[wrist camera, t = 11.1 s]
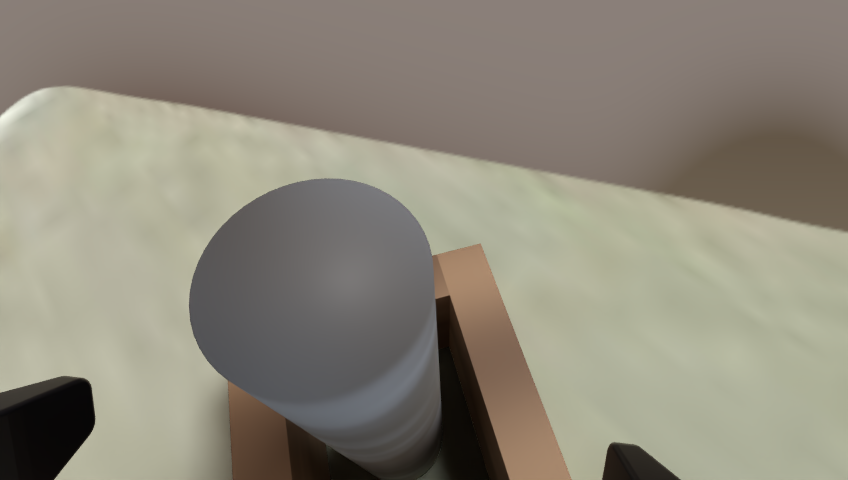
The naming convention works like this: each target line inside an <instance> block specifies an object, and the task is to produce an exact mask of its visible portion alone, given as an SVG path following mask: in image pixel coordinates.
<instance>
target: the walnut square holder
mask: <svg viewBox="0 0 848 480" xmlns="http://www.w3.org/2000/svg"><path fill="white" fill-rule="evenodd" d="M432 258H433V269H434V285H435V303H436V321H437V339H438V350H439V349H443V348H446V347H450V351H451V354H452V357H453V361H454V364H455V367H456V370H457V374H458V377H459V380H460V384H461V387H462V390H463V393H464V397H465V400H466V403H467V407H468V410H469V413H470V416H471V420H472V423H473V426H474V430H475V433H476V436H477V439H478V443H479V446H480V449H481V453H482V456H483V459H484V462H485V466H486V469H487V472H488V476H489V479H490V480H572V479H571V477H570V474H569V472H568V469H567V466H566V464H565V461H564V459H563V456H562V453H561V451H560V448H559V446H558V443H557V440H556V438H555V435H554V433H553V430H552V428H551V425H550V422H549V420H548V417H547V415H546V412H545V409H544V407H543V404H542V402H541V399H540V396H539V394H538V391H537V389H536V386H535V383H534V381H533V378H532V376H531V373H530V370H529V368H528V365H527V363H526V360H525V358H524V355H523V352H522V350H521V347H520V345H519V342H518V339H517V337H516V334H515V332H514V329H513V326H512V324H511V321H510V319H509V316H508V313H507V311H506V308H505V306H504V303H503V300H502V298H501V295H500V293H499V290H498V288H497V285H496V282H495V280H494V277H493V275H492V272H491V269H490V267H489V264H488V262H487V259H486V256H485V254H484V251H483V249H482V246H481V244H477V245H473V246H469V247H465V248H461V249H457V250H453V251H449V252H445V253H442V254H438V255H434V256H432ZM228 391H229V412H230V432H231V453H232V473H233V480H331V479H330V472H329V465H328V458H327V451H326V444H325V443H323V442H322V441H320V440H319V439H317V438H316V437H314V436H313V435H311V434H310V433H308V432H307V431H305V430H303V429H302V428H300V427H299V426H297V425H296V424H294V423H293V422H291V421H290V420H288V419H287V418H285V417H283V416H282V415H280V414H279V413H277V412H276V411H274V410H273V409H271V408H270V407H268V406H267V405H265V404H263V403H262V402H260V401H259V400H257V399H256V398H254V397H253V396H251V395H250V394H248V393H246V392H245V391H243V390H242V389H240V388H239V387H237V386H236V385H234V384H233V383H231V382H230V381H228Z"/></svg>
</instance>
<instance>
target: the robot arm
mask: <svg viewBox="0 0 848 480" xmlns="http://www.w3.org/2000/svg"><path fill="white" fill-rule="evenodd" d="M94 425H95V411H94V403H93V395H92V387H91V384H90V383H89V381H88V380H86V379H85V378H78V377H70V376H61V377H57V378H53V379H50V380H46V381H42V382H39V383H35V384H31V385H27V386H24V387H20V388H16V389H13V390H9V391H5V392H2V393H0V480H54V479H55V478H56V476H57V475H58V474H59V473H60V471H61V470H62V469H63V468H64V466H65V465H66V464H67V463H68V461H69V460H70V459H71V458H72V456H73V455H74V454H75V453H76V451H77V450H78V449H79V448H80V446H81V445H82V444H83V443H84V441H85V440H86V439H87V438H88V436H89V435H90V434H91V432H92V430H93V428H94ZM602 480H680V479H679V478H678V477H677V476H675V475H674V474H673V473H672V472H670V471H669V470H668V469H667V468H666V467H664V466H663V465H662V464H661V463H659V462H658V461H657V460H656V459H654V458H653V457H652V456H651V455H649V454H648V453H647V452H646V451H644V450H643V449H642V448H640V447H639V446H637V445H634V444H625V443H617V442H613V443H611V444H610V445H609V447H608V450H607V455H606V461H605V467H604V472H603V478H602Z"/></svg>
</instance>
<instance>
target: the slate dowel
mask: <svg viewBox="0 0 848 480" xmlns="http://www.w3.org/2000/svg"><path fill="white" fill-rule="evenodd" d="M189 312H190V322H191V326H192V330H193V334H194V337H195V339H196V341H197V344H198V346H199V348H200V350H201V351H202V353H203V355H204V356H205V358H206V359H207V361H208V362H209V363H210V364H211V365H212V366H213V367H214V369H215V370H216V371H217V372H218V373H220V374H221V375H222V376H223V377H225V378H226V379H227V380H228V381H230V382H231V383H233V384H234V385H236V386H237V387H239V388H240V389H242V390H243V391H245V392H246V393H248V394H250V395H251V396H253V397H254V398H256V399H257V400H259V401H260V402H262V403H263V404H265V405H267V406H268V407H270V408H271V409H273V410H274V411H276V412H277V413H279V414H280V415H282V416H283V417H285V418H287V419H288V420H290V421H291V422H293V423H294V424H296V425H297V426H299V427H300V428H302V429H303V430H305V431H307V432H308V433H310V434H311V435H313V436H314V437H316V438H317V439H319V440H320V441H322V442H323V443H325V444H327V445H328V446H330V447H331V448H333V449H334V450H336V451H337V452H339V453H340V454H342V455H344V456H345V457H347V458H348V459H350V460H351V461H353V462H354V463H356V464H357V465H359V466H360V467H362V468H364V469H365V470H367V471H368V472H370V473H371V474H373V475H374V476H376V477H378V478H379V479H381V480H415V479H417V478H419V477H420V476H422V475H423V474H424V473H426V472H427V471H428V470H429V469H430V468H431V467H432V465H433V464H434V463H435V461H436V459H437V457H438V455H439V453H440V450H441V446H442V441H443V428H442V410H441V392H440V374H439V357H438V339H437V321H436V303H435V285H434V269H433V258H432V254H431V250H430V245H429V243H428V240H427V238H426V235H425V233H424V231H423V229H422V228H421V226H420V224H419V223H418V221H417V220H416V218H415V217H414V216H413V215H412V213H411V212H410V211H409V210H408V209H407V208H406V207H405V206H404V205H403V204H401V203H400V202H399V201H398V200H396V199H395V198H393V197H392V196H391V195H389V194H387V193H385V192H383V191H381V190H380V189H378V188H375V187H372V186H370V185H367V184H364V183H360V182H356V181H351V180H343V179H314V180H307V181H301V182H296V183H293V184H289V185H286V186H283V187H280V188H278V189H275V190H273V191H270V192H268V193H266V194H264V195H262V196H260V197H258V198H256V199H255V200H253V201H252V202H250V203H249V204H247V205H246V206H244V207H243V208H242V209H240V210H239V211H238V212H237V213H235V214H234V215H233V216H232V217H231V218H230V219H229V220H228V221H227V222H226V223H225V224H224V225H223V226H222V227H221V228H220V229H219V230H218V231H217V233H216V234H215V235H214V236H213V238H212V239H211V241H210V242H209V244H208V245H207V247H206V248H205V250H204V252H203V254H202V256H201V258H200V260H199V262H198V264H197V267H196V270H195V273H194V275H193V279H192V284H191V289H190V298H189Z"/></svg>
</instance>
